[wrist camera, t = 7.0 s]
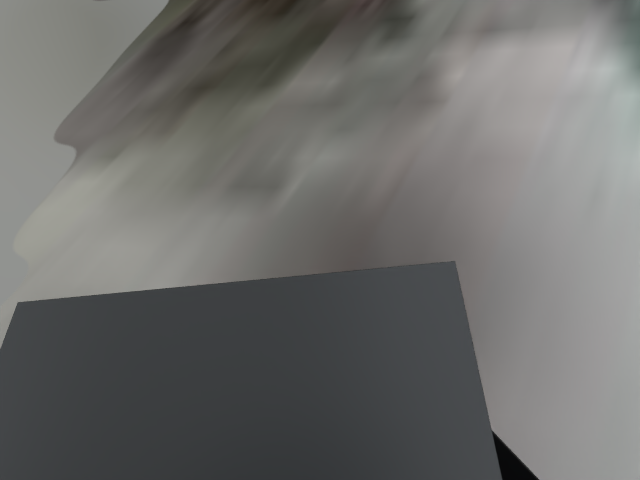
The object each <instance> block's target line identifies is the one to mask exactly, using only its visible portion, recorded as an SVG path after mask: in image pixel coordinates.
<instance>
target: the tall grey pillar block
mask: <svg viewBox="0 0 640 480" xmlns="http://www.w3.org/2000/svg"><path fill="white" fill-rule="evenodd" d="M0 480H502V476H501V472H500V467H499V462H498V458H497V453H496V449H495V444H494V439H493V435H492V430H491V425H490V421H489V416H488V412H487V407H486V402H485V398H484V393H483V389H482V384H481V379H480V375H479V370H478V365H477V361H476V356H475V352H474V347H473V342H472V338H471V333H470V328H469V324H468V319H467V315H466V310H465V305H464V301H463V296H462V291H461V287H460V282H459V278H458V273H457V268H456V264H455V261H451V262H440V263H430V264H419V265H409V266H398V267H387V268H377V269H366V270H356V271H345V272H334V273H324V274H313V275H303V276H292V277H282V278H271V279H260V280H250V281H239V282H229V283H218V284H207V285H197V286H186V287H176V288H165V289H154V290H144V291H133V292H123V293H112V294H102V295H91V296H80V297H70V298H59V299H49V300H38V301H27V302H18V303H17V306H16V309H15V311H14V314H13V317H12V320H11V322H10V325H9V328H8V330H7V333H6V336H5V338H4V341H3V344H2V346H1V349H0Z"/></svg>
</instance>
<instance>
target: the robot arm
mask: <svg viewBox="0 0 640 480" xmlns="http://www.w3.org/2000/svg"><path fill="white" fill-rule="evenodd" d="M492 435H493V439H494V444H495V449H496V453H497V458H498V462H499V467H500V472H501V476H502V480H539V479H538V478H537V477H536V476H535V475H534V474H533V473H532V472H531V471H530V470H529V468H528V467H527V466H526V465H525V464H524V463H523V462H522V461H521V460H520V459H519V458H518V457H517V456H516V455H515V454H514V453H513V452H512V451H511V450H510V449H509V448H508V447H507V446H506V444H505V443H504V442H503V441H502V440H501V439H500V438H499V437H498V436H497V435H496V434H495V433H494V432H493V431H492Z"/></svg>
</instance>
